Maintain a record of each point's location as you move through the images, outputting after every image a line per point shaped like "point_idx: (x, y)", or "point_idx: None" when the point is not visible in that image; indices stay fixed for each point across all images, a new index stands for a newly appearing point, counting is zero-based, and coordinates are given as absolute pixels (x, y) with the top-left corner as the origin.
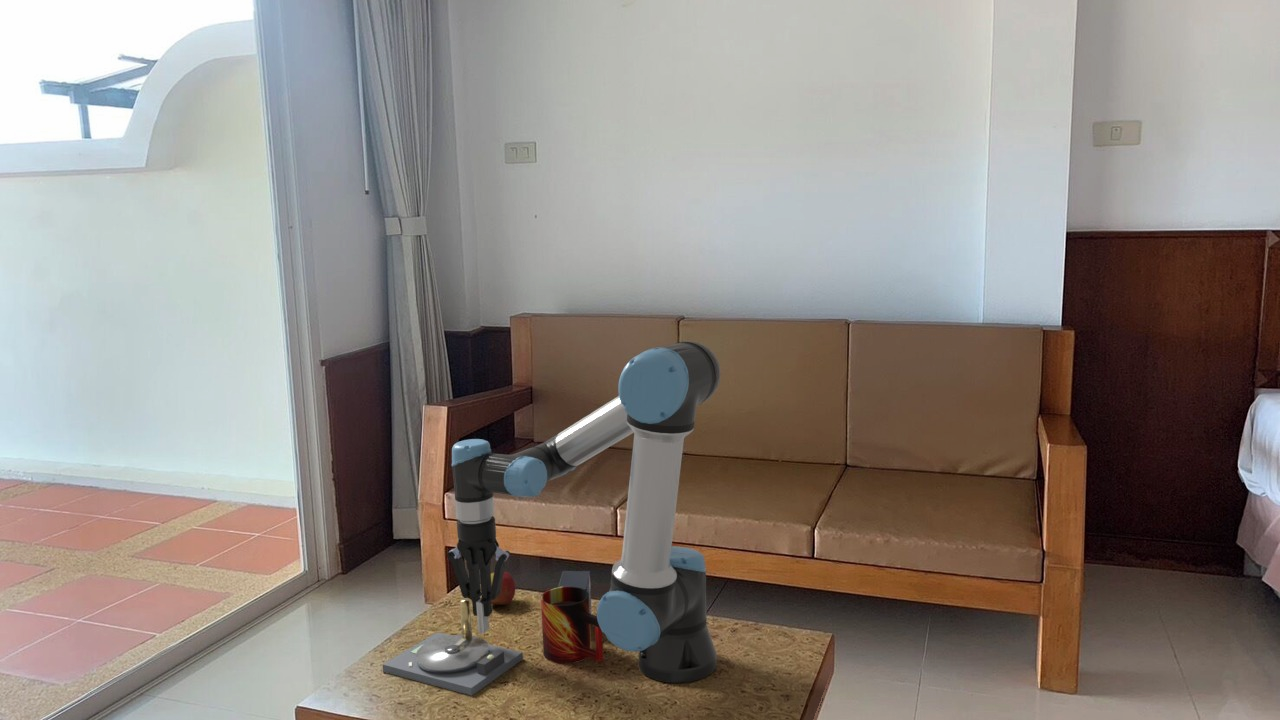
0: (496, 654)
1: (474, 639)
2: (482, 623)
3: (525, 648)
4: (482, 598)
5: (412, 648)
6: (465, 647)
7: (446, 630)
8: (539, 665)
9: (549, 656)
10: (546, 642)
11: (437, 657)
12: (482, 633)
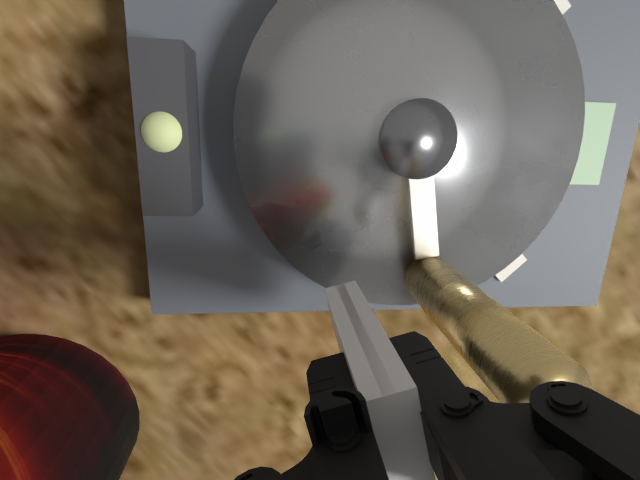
0: (154, 171)
1: (382, 276)
2: (336, 311)
3: (216, 374)
4: (365, 440)
5: (623, 141)
6: (373, 191)
7: (579, 359)
8: (62, 288)
9: (42, 346)
10: (25, 386)
11: (441, 33)
12: (332, 286)
